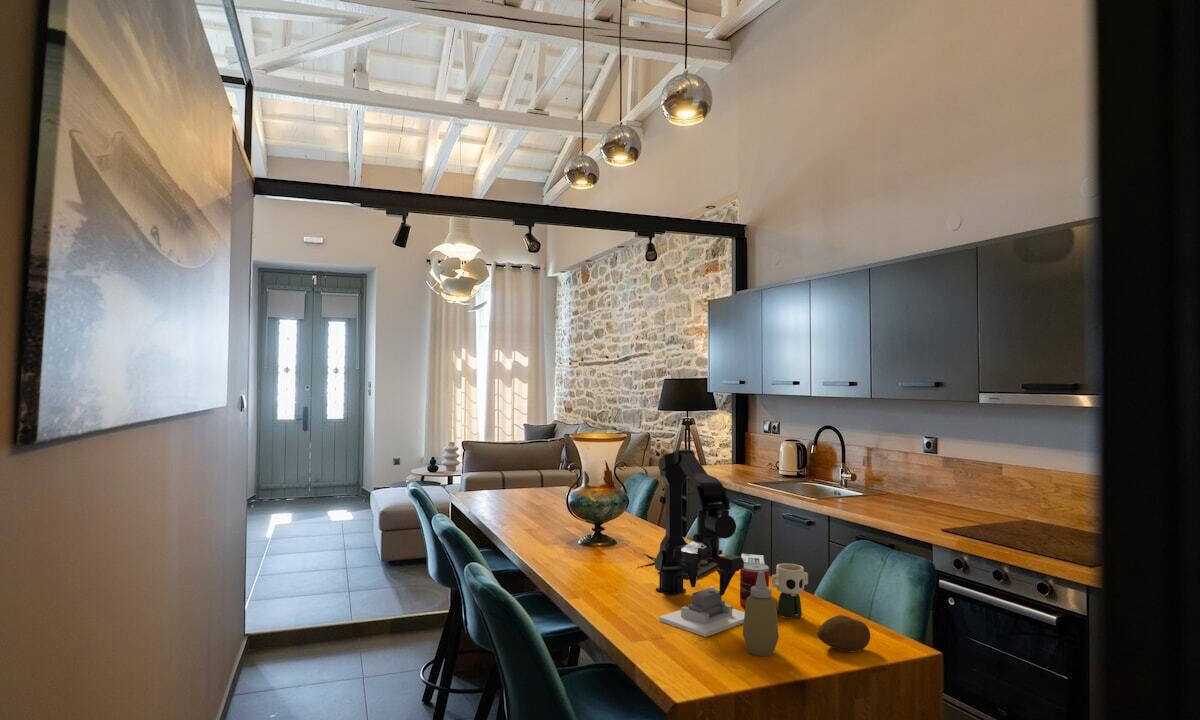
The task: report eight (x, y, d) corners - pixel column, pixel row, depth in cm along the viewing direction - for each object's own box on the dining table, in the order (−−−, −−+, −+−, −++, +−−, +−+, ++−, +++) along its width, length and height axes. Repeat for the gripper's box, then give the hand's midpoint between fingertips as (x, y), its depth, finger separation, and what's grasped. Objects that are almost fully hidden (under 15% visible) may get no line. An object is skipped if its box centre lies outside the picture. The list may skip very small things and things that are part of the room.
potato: (878, 654, 161) (878, 620, 162) (829, 658, 159) (829, 623, 159) (857, 641, 169) (857, 609, 170) (810, 645, 167) (810, 612, 167)
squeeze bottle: (737, 645, 165) (739, 567, 166) (771, 645, 166) (772, 567, 167) (748, 659, 157) (749, 577, 158) (783, 658, 158) (784, 577, 159)
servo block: (688, 618, 181) (688, 590, 181) (712, 609, 188) (712, 583, 188) (700, 622, 178) (701, 593, 178) (724, 613, 185) (725, 586, 185)
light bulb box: (764, 602, 199) (765, 563, 199) (740, 600, 200) (740, 561, 200) (763, 591, 209) (764, 554, 210) (740, 589, 211) (741, 553, 211)
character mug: (778, 622, 182) (779, 571, 182) (764, 613, 188) (764, 564, 189) (815, 619, 185) (815, 568, 185) (799, 610, 192) (800, 562, 192)
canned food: (769, 603, 197) (770, 564, 198) (766, 612, 190) (767, 571, 190) (742, 600, 200) (742, 561, 200) (737, 609, 192) (738, 568, 193)
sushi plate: (695, 582, 219) (696, 569, 219) (611, 567, 235) (612, 556, 235) (730, 563, 244) (730, 551, 244) (652, 550, 259) (652, 540, 260)
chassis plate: (658, 620, 181) (659, 607, 181) (707, 604, 195) (707, 592, 195) (705, 636, 170) (705, 622, 171) (753, 618, 184) (753, 605, 184)
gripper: (660, 528, 185) (659, 588, 184) (718, 540, 171) (717, 606, 171) (687, 522, 192) (686, 581, 192) (745, 534, 179) (744, 597, 178)
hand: (707, 591), depth 183 cm, fingers open, 9 cm apart
